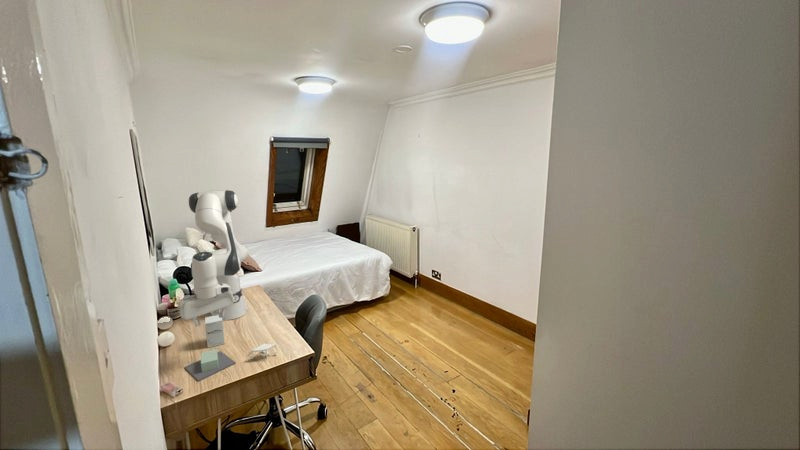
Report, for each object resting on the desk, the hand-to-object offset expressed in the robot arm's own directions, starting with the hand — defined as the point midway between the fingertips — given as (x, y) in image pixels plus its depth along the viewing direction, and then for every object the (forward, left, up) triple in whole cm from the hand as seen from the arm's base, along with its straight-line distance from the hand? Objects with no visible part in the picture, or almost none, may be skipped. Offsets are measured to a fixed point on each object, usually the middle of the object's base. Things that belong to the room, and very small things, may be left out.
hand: (210, 321), depth 144 cm
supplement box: (-16, +7, -20) cm, 26 cm away
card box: (+1, -3, -19) cm, 19 cm away
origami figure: (+13, +15, -20) cm, 28 cm away
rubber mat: (+1, -3, -19) cm, 20 cm away
